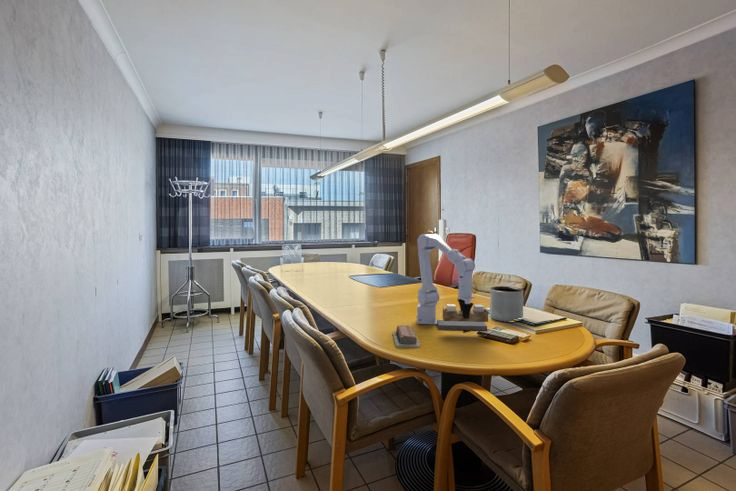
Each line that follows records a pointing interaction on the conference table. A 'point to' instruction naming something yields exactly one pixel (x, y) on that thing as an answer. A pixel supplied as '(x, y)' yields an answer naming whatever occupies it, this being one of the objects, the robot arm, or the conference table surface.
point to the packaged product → (405, 337)
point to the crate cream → (451, 307)
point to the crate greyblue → (479, 308)
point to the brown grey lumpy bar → (458, 316)
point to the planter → (506, 303)
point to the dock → (460, 325)
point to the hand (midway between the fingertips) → (464, 316)
